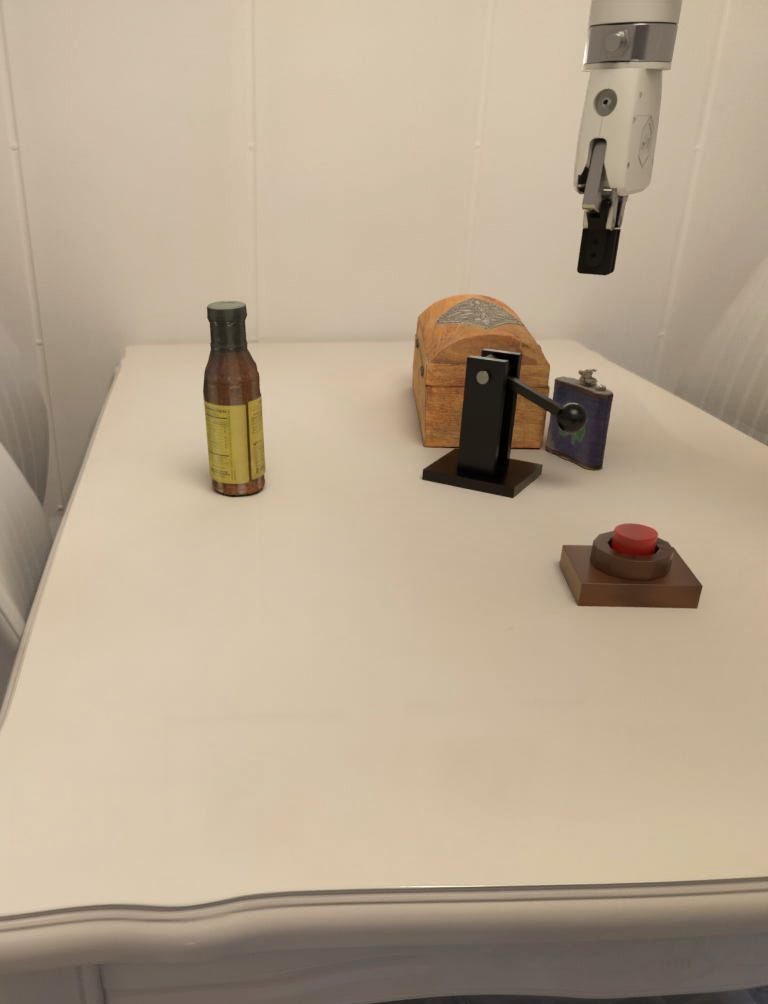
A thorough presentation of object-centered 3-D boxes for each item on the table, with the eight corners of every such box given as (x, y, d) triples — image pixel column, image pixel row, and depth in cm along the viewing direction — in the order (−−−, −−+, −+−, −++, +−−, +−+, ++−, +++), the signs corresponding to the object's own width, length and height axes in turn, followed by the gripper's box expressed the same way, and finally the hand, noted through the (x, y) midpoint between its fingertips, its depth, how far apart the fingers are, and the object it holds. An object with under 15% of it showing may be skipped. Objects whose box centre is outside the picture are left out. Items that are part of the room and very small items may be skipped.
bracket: (541, 474, 107) (558, 353, 100) (513, 498, 100) (529, 370, 93) (454, 457, 112) (464, 341, 105) (421, 479, 105) (430, 356, 99)
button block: (668, 568, 85) (677, 528, 83) (697, 609, 78) (708, 566, 76) (559, 566, 85) (565, 526, 83) (577, 606, 78) (585, 563, 76)
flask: (540, 448, 115) (552, 361, 109) (559, 445, 116) (572, 359, 110) (590, 471, 107) (605, 379, 102) (609, 468, 108) (626, 376, 103)
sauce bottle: (250, 475, 107) (246, 295, 97) (275, 492, 102) (273, 305, 92) (199, 484, 104) (188, 301, 94) (222, 502, 99) (213, 311, 89)
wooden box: (550, 450, 114) (566, 335, 107) (416, 447, 115) (424, 333, 108) (519, 388, 140) (531, 292, 133) (410, 386, 141) (417, 291, 134)
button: (647, 541, 81) (651, 523, 80) (659, 558, 78) (663, 539, 77) (606, 540, 81) (609, 522, 80) (616, 558, 78) (620, 539, 77)
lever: (581, 434, 99) (597, 409, 97) (572, 442, 97) (587, 416, 95) (481, 375, 103) (494, 349, 101) (470, 381, 100) (483, 355, 98)
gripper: (649, 45, 74) (611, 287, 83) (692, 53, 85) (654, 266, 94) (558, 49, 77) (531, 280, 86) (610, 56, 88) (581, 261, 97)
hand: (595, 272), depth 90 cm, fingers closed
